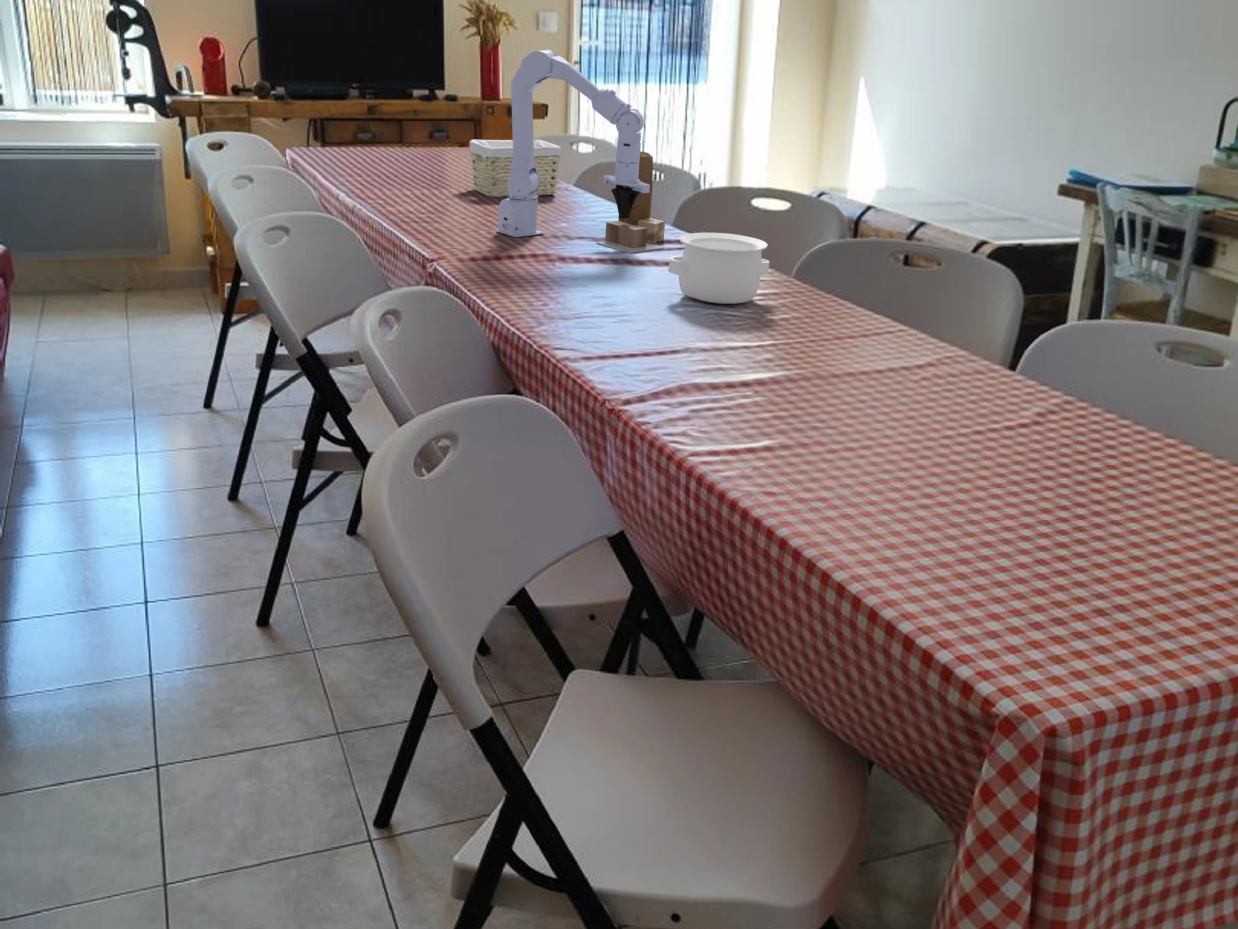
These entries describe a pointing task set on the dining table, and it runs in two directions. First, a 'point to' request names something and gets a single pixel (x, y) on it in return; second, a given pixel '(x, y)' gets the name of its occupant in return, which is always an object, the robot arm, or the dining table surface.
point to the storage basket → (496, 161)
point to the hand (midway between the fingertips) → (623, 217)
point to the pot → (720, 267)
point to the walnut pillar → (626, 234)
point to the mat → (631, 250)
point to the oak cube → (653, 229)
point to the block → (643, 200)
